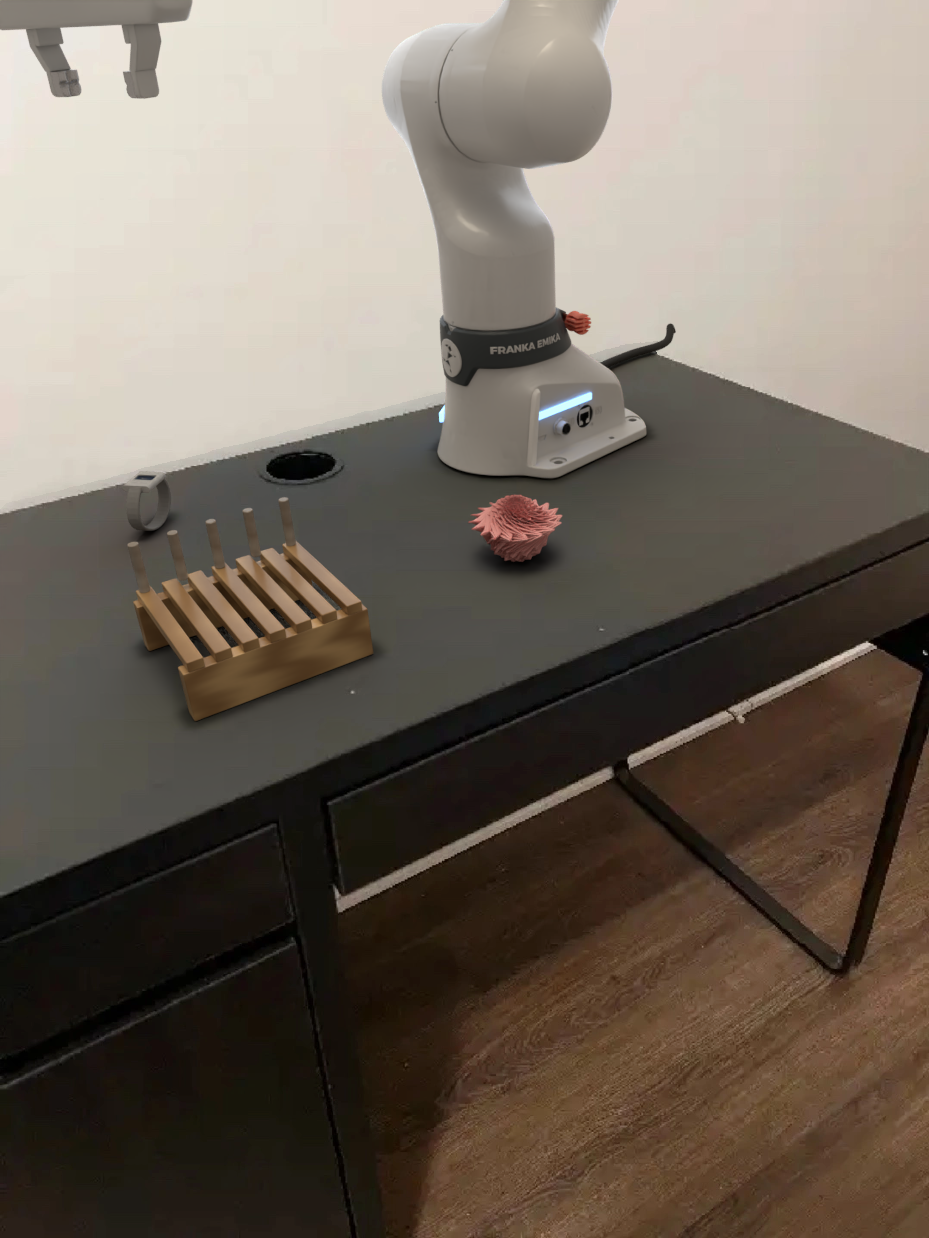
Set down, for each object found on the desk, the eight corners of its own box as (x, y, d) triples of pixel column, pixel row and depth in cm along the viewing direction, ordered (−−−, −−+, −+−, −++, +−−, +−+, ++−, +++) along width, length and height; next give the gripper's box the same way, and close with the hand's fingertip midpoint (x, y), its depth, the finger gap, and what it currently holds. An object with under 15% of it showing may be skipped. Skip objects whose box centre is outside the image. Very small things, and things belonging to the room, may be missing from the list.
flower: (454, 568, 87) (449, 509, 84) (496, 528, 93) (493, 471, 90) (539, 586, 84) (537, 525, 81) (577, 543, 90) (577, 485, 87)
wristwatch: (152, 542, 95) (140, 493, 92) (126, 541, 96) (113, 492, 93) (183, 513, 100) (172, 465, 97) (157, 511, 101) (146, 464, 98)
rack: (308, 589, 86) (292, 493, 81) (373, 654, 77) (360, 550, 73) (144, 644, 80) (117, 545, 76) (195, 721, 71) (167, 614, 67)
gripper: (191, -146, 66) (229, 93, 74) (13, -114, 77) (62, 91, 85) (110, -149, 62) (159, 104, 70) (-66, -116, 73) (-7, 100, 81)
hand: (104, 97), depth 77 cm, fingers open, 8 cm apart
